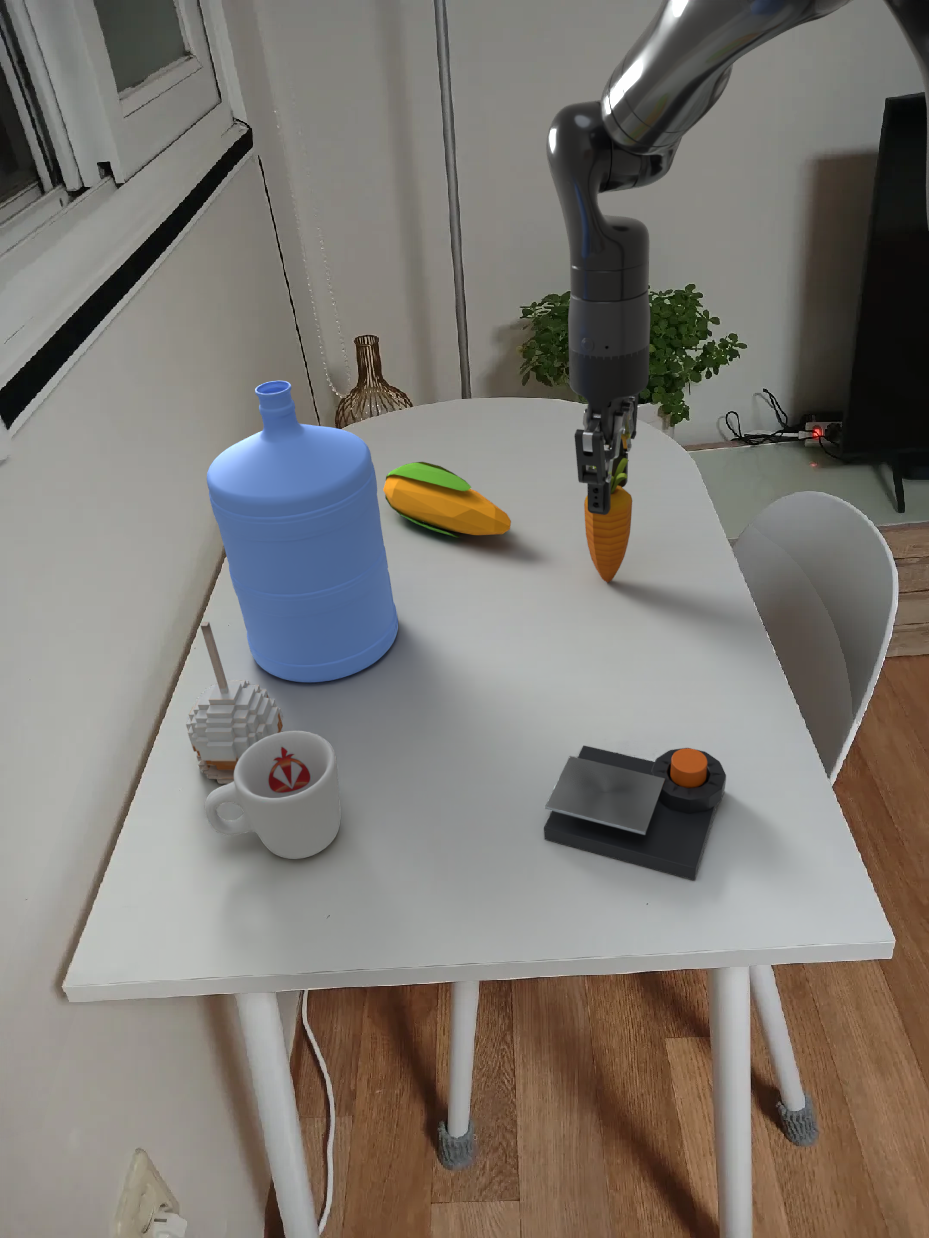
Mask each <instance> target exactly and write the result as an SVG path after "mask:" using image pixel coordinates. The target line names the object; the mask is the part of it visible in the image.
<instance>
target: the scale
mask: <svg viewBox="0 0 929 1238" xmlns="http://www.w3.org/2000/svg"><path fill="white" fill-rule="evenodd" d="M686 748H687V747H682V748H674V749H669V750H667V751H666V752H664V753H663V754H661V755H659V756H658V757H656V759H655V760H654V761H652V760H648V759H644V758H641V757H635V756H631V755H627V754H623V753H619V752H614V751H610V750H605V749H601V748H597V747H593V746H589V745H582V747H581V749H580V751H579V753H578V755H577V758H581V759H585V760H590V761H594V762H598V763H602V764H606V765H611V766H615V767H619V768H623V769H627V770H632V771H636V772H640V773H644V774H648V775H653V776H657V777H661V778H665V783H664V786H663V788H662V791H661V794H660V797H659V799H658V802H657V805H656V807H655V810H654V813H653V816H652V818H651V821H650V824H649V826H648V829H647V832H646V835H643V834H639V833H635V832H631V831H627V830H624V829H620V828H616V827H612V826H608V825H605V824H601V823H597V822H593V821H589V820H586V819H582V818H578V817H574V816H570V815H567V814H563V813H559V812H555V811H551V812H550V814H549V816H548V819H547V820H546V823H545V825H544V827H543V835H544V840H545V841H549V842H553V843H557V844H560V845H563V846H567V847H571V848H575V849H578V850H582V851H585V852H588V853H593V854H596V855H600V856H605V857H608V858H611V859H615V860H618V861H622V862H625V863H629V864H633V865H637V866H640V867H644V868H648V869H651V870H655V871H658V872H662V873H666V874H670V875H672V876H677V877H680V878H683V879H687V880H691V881H696V878H697V876H698V872H699V868H700V865H701V861H702V858H703V855H704V851H705V848H706V845H707V841H708V838H709V835H710V831H711V828H712V826H713V822H714V818H715V814H716V812H717V808H718V805H719V803H721V802H722V799H723V796H724V793H725V789H726V781H727V774H726V772H725V769H724V768H723V765H722V763H721V761H719V760H718V759H717V758H716V757H713V755H711V754H709V753H708V752H706V751H704V750H701V749H695V748H694V749H695V750H698V751H700V752H701V753H703V754H704V755H705V757H706V758H707V773H706V780H705V782H704V783H703V784H702V785H701V786H699V787H696V788H685V787H681V786H679V785H677V784H676V783H675V782H674V781H673V780H672V778H671V775H670V774H671V758H672V756H673V754H674V753H675V752H676V751H678V750H681V749H686ZM688 748H689V749H692V748H691V747H688Z"/></svg>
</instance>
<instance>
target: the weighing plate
mask: <svg viewBox="0 0 929 1238" xmlns="http://www.w3.org/2000/svg"><path fill="white" fill-rule="evenodd" d="M577 757H578V756H577ZM577 757H576V756H572V755H569V756H568V758H567V761H566V763H565V765H564V767H563V769H562V771H561V773H560V775H559V777H558V778H557V781H556V784H555V785H554V787H553V789H552V791H551V793H550V795H549V798H548V799H547V802H546V803H545V805H544V809H545V810H548V811H551V812H552V811H555V812H559V813H563V814H567V815H570V816H574V817H578V818H582V819H586V820H589V821H593V822H597V823H601V824H605V825H608V826H612V827H616V828H620V829H624V830H627V831H631V832H635V833H639V834H643V835H646V832H647V829H648V826H649V824H650V821H651V818H652V816H653V813H654V810H655V807H656V805H657V802H658V799H659V797H660V794H661V791H662V788H663V786H664V783H665V778H661V777H657V776H653V775H648V774H644V773H640V772H636V771H632V770H627V769H623V768H619V767H615V766H611V765H606V764H602V763H598V762H594V761H590V760H585V759H581V758H577Z"/></svg>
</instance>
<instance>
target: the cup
mask: <svg viewBox="0 0 929 1238" xmlns="http://www.w3.org/2000/svg"><path fill="white" fill-rule="evenodd" d="M338 774H339V773H338V763H337V757H336V752H335V750H334V748H333V746H332V744H331V743H330V742H329V741H328V740H327V739H326V738H324V737H323V736H321V735H319V734H316V733H314V732H310V731H305V730H286V731H283V732H280V733H276V734H273V735H270V736H268V737H265V738H263V739H261V740H259V741H258V742H256V743H254V744H253V745H252V746H251V747H249V748H248V749H247V750H246V751H245V752H244V753H243V754H242V756H241V757H240V759H239V760H238V762H237V764H236V766H235V770H234V781H233V782H231V783H225V784H224V785H222V786H219V787H217V788H215V789H213V790H212V791H211V792H210V793H209V794H208V795H207V797H206V799H205V802H204V812H205V813H204V814H205V816H206V819H207V822H208V824H209V825H210V827H211V828H212V829H213V831H215V832H217V833H219V835H223V836H236V835H241V834H245V833H250V832H252V833H255V834H256V835H257V837H259V839H260V840H261V842H262V843H263V845H264V847H266V848H267V850H269V851H270V852H271V853H272V854H274V855H276V856H278V857H281V858H283V859H289V860H299V859H304V858H309V857H312V856H315V855H316V854H318V853H320V852H322V851H323V850H324V849H326V848H327V847H329V845H330V844H331V843H332V842H333V841H334V840H335V838H336V837H337V835H338V832H339V831H340V826H341V820H342V819H341V816H342V814H341V813H342V811H341V800H340V787H339V775H338ZM227 803H233V804H235V805H237V806H238V807H239V808H240V809H241V810H242V814H241V816H240V817H238V818H235V819H233V820H232V819H231V820H227V819H225V818H223V817H221V816H220V815H219V813H218V811H217V808H219V806H220V805H222V804H227Z"/></svg>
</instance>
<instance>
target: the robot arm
mask: <svg viewBox="0 0 929 1238" xmlns="http://www.w3.org/2000/svg"><path fill="white" fill-rule="evenodd" d="M853 1H854V0H661V3H660V4H659V6H658V8H657V10H656V12H655V13H654V16H653V17H652V18H651V20H650V21H649V22H648V24H647V26H646V27H645V29H644V30H643V31H642V32H641V34H639V36H638V38H637V39H636V40H635V42H634V43H633V44H632V46H631V47H630V48H629V50H628V51H627V52H626V53H625V55H624V56H623V57H622V59H621V60H620V62H619V63H618V64H617V65H616V66H615V68H614V70H613V71H612V72H611V74H610V76H609V77H608V79H607V81H606V82H605V85H604V87H603V90H602V92H601V93H602V94H601V97H600V99H597V100H590V101H581V102H576V103H571V104H568V105H565V106H564V107H562V108H561V109H559V111H558V112H557V113H556V114H555V116H554V118H553V119H552V121H551V123H550V126H549V128H548V131H547V136H546V144H545V145H546V147H545V150H546V159H547V164H548V168H549V172H550V175H551V179H552V183H553V185H554V188H555V191H556V194H557V198H558V201H559V205H560V209H561V213H562V217H563V221H564V226H565V230H566V235H567V242H568V248H569V277H570V278H569V279H570V285H569V286H570V295H569V296H570V297H569V298H570V299H569V307H568V314H567V315H568V319H567V322H568V323H567V325H568V372H569V373H568V374H569V376H568V378H569V379H568V380H569V382H568V383H569V386H570V390H571V391H573V392H574V393H575V394H576V395H578V396H580V397H582V398H583V399H585V400H586V402H587V405H586V406H587V407H586V408H584V411H583V417H582V426H583V427H584V429H580V428H576V430H575V433H574V436H573V437H574V446H575V458H576V468H577V470H576V471H577V481H578V483H579V484H587V486H586V487H587V489H586V490H587V495H588V511H589V512H590V513H594V514H601V515H606V514H608V512H609V511H610V509H611V478H612V476H613V477H614V476H615V473H616V470H617V467H618V465H619V463H620V462H621V460H622V459H623V458H626V459H628V460H629V453H630V452H631V449H632V445H633V444H632V440H635V438H636V437H637V424H638V423H637V421H638V409H639V395H640V393H642V392H643V391H644V390H645V389H646V388H647V386H648V385H649V375H650V372H649V371H650V367H649V366H650V342H651V341H650V335H651V334H650V333H651V308H650V306H651V305H650V298H649V283H650V282H649V281H650V280H649V277H650V232H649V230H648V227H647V226H646V224H644V222H643V221H641V220H639V219H637V218H633V217H628V216H621V215H609V214H603V213H602V210H601V209H600V206H599V200H598V196H599V195H600V194H605V193H612V192H619V191H626V190H633V189H638V188H643V187H647V186H649V185H652V184H654V183H656V182H658V181H660V180H661V179H662V178H664V177H665V176H666V175H667V174H668V173H669V171H670V170H671V168H672V165H673V162H674V160H675V156H676V154H677V152H678V149H679V147H680V144H681V142H682V140H683V137H684V136H685V135H686V134H687V133H688V132H689V131H691V129H693V128H694V126H696V125H697V123H699V122H700V121H701V120H702V119H703V118H704V117H705V116H706V115H707V114H708V112H710V110H711V109H712V108H713V107H714V106H715V105H716V104H717V102H718V101H720V100H719V99H720V98H721V96H722V95H723V94H724V92H725V90H726V88H727V87H728V84H729V83H730V79H731V76H732V72H733V69H734V63H736V62H737V61H738V60H740V58H742V57H743V56H745V55H747V54H748V53H750V52H752V51H753V50H755V49H757V48H758V47H760V46H762V45H763V44H765V43H767V42H770V41H771V40H773V39H775V38H776V37H778V36H780V35H781V34H783V33H786V32H787V31H789V30H792V29H794V28H796V27H798V26H800V25H803V24H806V23H810V22H814V21H817V20H820V19H823V18H825V17H826V16H829V15H831V14H832V13H835V12H836V11H838V10H839V9H841V8H843V7H844V6H846V5H848V4H850V3H852V2H853ZM882 2H883V3H884V5H885V6H886V7H887V9H888V11H889V12H890V14H891V15H892V17H893V18H894V20H895V22H896V24H897V26H898V28H899V30H900V32H901V34H902V35H903V38H904V39H905V42H906V44H907V46H908V48H909V51H911V53H912V55H913V58H914V60H915V63H916V66H917V68H918V71H919V73H920V76H921V80H922V85H923V90H924V96H925V103H926V104H925V105H926V162H925V163H926V168H925V169H926V170H925V171H926V172H925V197H926V200H925V201H926V218H927V219H926V220H927V228H928V230H929V0H882ZM594 466H595V467H596V468H597V469H594ZM628 467H629V462H628V463H627V465H626V466H625V468H624V470H623V472H622V473H625V474H627V479H624V480H622V481H621V482H620V483H619V484H618V485H617V486H621V487H622V488H624V487H626V485H627V483H628V482H629V481H628V478H629V477H628V475H629V468H628Z"/></svg>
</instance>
